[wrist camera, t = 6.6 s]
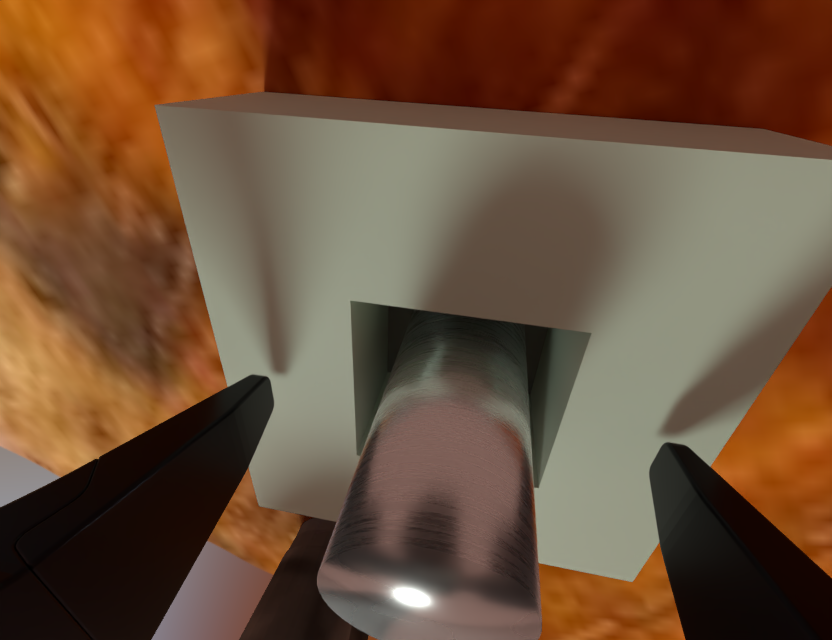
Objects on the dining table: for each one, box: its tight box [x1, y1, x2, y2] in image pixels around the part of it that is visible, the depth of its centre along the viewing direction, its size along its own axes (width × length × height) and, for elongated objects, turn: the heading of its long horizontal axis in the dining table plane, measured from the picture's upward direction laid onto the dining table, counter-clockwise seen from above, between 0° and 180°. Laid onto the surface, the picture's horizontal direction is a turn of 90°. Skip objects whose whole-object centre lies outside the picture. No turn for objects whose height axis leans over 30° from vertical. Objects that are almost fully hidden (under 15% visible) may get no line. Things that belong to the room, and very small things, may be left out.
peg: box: [317, 309, 542, 640], centre depth 10 cm, size 4×4×8 cm
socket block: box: [155, 92, 832, 582], centre depth 12 cm, size 12×12×4 cm
